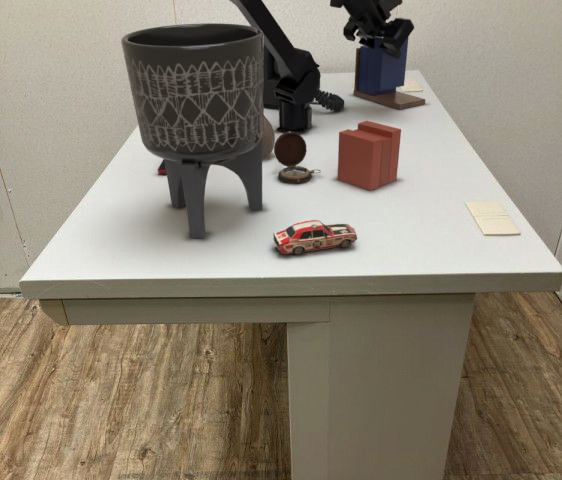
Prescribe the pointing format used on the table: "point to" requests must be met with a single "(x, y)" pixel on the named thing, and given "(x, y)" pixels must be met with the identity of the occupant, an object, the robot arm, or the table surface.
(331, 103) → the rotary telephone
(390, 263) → the table surface
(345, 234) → the race car
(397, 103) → the book rack
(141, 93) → the planter
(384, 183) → the brick-red books
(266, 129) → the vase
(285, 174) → the compass
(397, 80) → the navy book
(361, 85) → the navy books
